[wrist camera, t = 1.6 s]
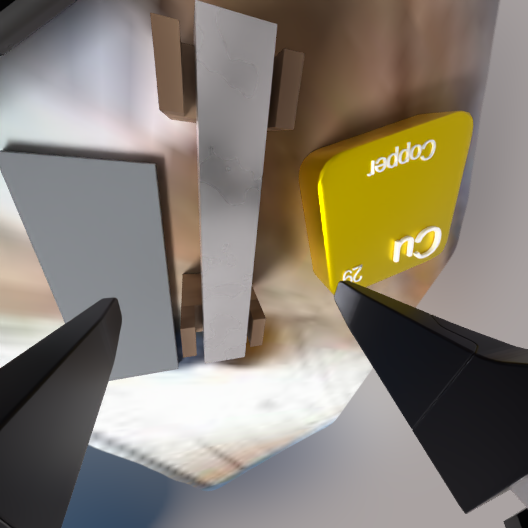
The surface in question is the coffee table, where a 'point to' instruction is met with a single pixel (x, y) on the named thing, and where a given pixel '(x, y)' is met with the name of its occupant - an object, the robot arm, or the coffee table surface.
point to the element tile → (384, 197)
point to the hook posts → (184, 109)
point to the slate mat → (100, 246)
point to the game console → (25, 19)
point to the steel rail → (229, 165)
